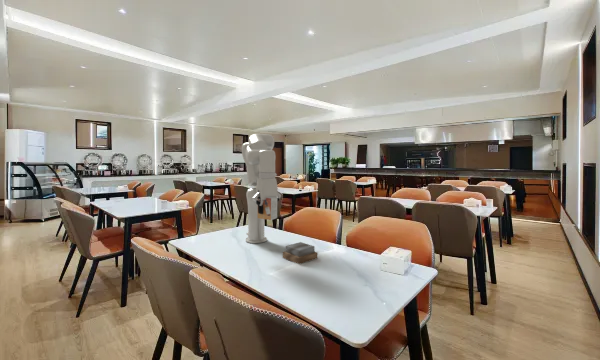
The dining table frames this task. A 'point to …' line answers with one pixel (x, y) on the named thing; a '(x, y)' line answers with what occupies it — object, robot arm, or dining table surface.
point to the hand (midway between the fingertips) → (267, 212)
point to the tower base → (299, 259)
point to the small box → (269, 209)
